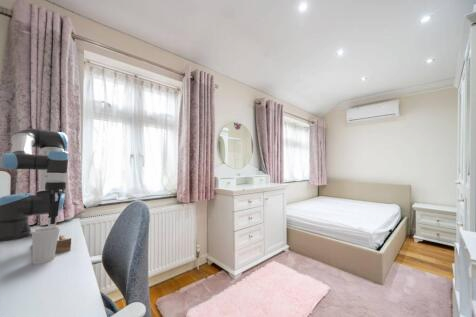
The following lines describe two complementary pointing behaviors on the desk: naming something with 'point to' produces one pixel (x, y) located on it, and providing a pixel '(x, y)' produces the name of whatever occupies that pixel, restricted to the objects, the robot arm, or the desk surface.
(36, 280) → the desk surface
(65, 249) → the cradle
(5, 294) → the desk surface
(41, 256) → the cup
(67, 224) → the desk surface
